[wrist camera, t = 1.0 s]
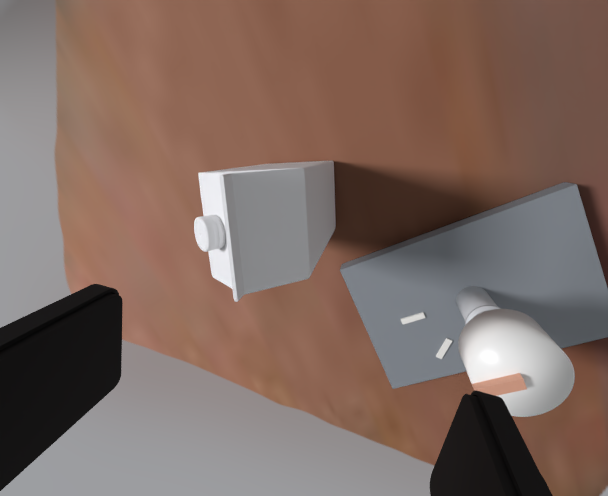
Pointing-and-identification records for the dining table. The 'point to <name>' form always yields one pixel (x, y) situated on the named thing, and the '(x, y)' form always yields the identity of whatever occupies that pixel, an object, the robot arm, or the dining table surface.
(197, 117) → the dining table surface
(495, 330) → the white rounded lump
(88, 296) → the robot arm
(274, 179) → the milk carton
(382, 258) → the post stand
